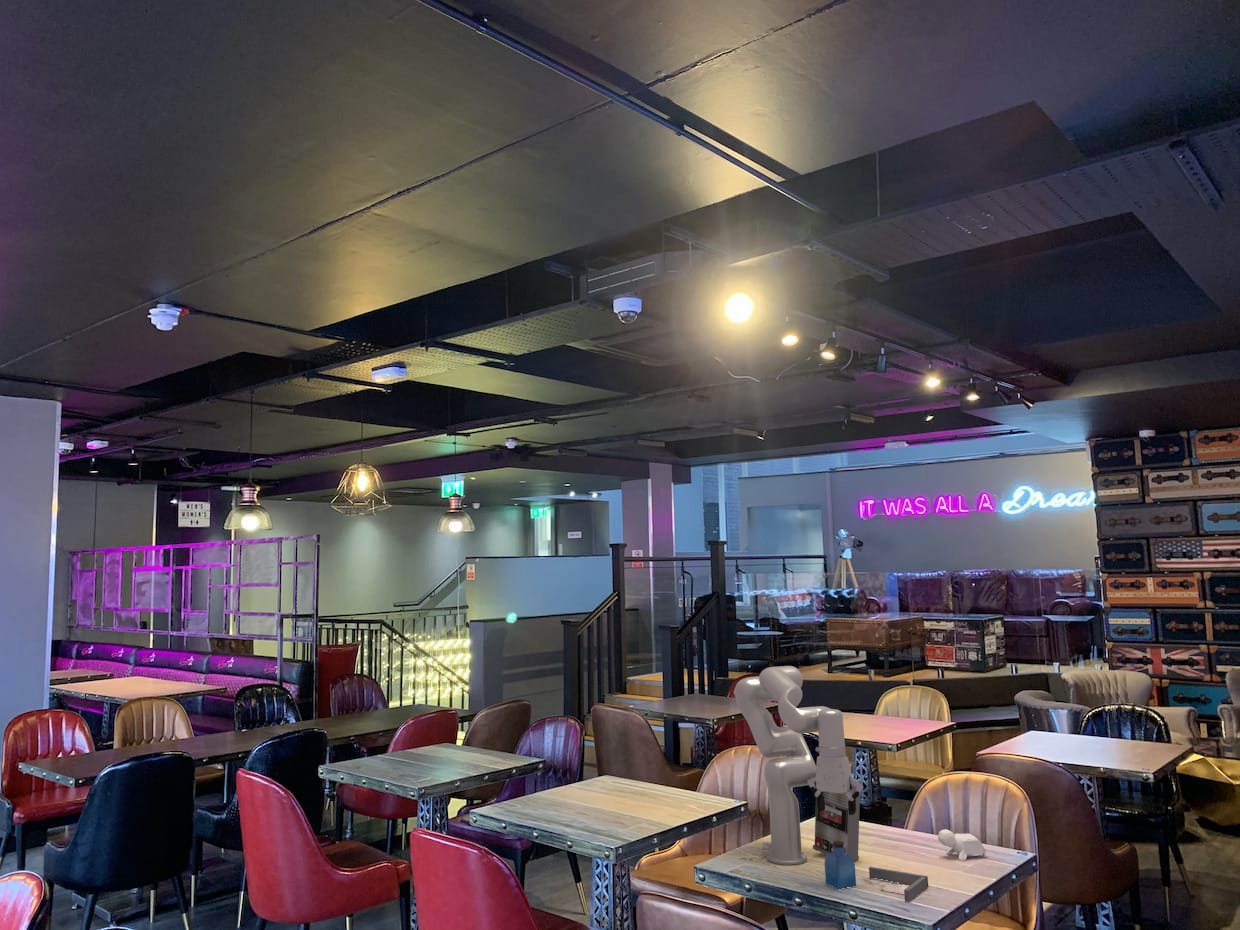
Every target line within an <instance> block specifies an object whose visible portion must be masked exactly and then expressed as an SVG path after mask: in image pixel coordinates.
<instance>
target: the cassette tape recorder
mask: <svg viewBox="0 0 1240 930" xmlns="http://www.w3.org/2000/svg"><path fill="white" fill-rule="evenodd" d="M852 779H854V780H856V781H857V782H859V783H860V784H861V780H858V779H857V778H853V777H852ZM852 791H853V792H854V793H855V792H856V787H855V786H853V790H852ZM822 795H823V796H824V800H825V810H823V811H818V807H817V797H815V817H814V819H815V821H814V844H812V849H813V850H814V851H817V852H819V853H822V854H824V855H826V856H828V855H829V853H834V850H833V841H843V842H844V844H843V846H844V847H845V851H844V853H846V854H848V855H849V856H850V858H851V859H852V861H853V862H855V861H856V860H857V861H858V860H859V859H860V856H859V841H860V840H859V839H860V838H859V837H860V834H859V833H860V803H861V802H860V800H861V794H860V795H859V796H858V797H857V799H856V812H855V814H853V815H849V810H848V801H849V798H848V797H847V796H846V794H837V793H827V792H824V793H823V794H822Z"/></svg>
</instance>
